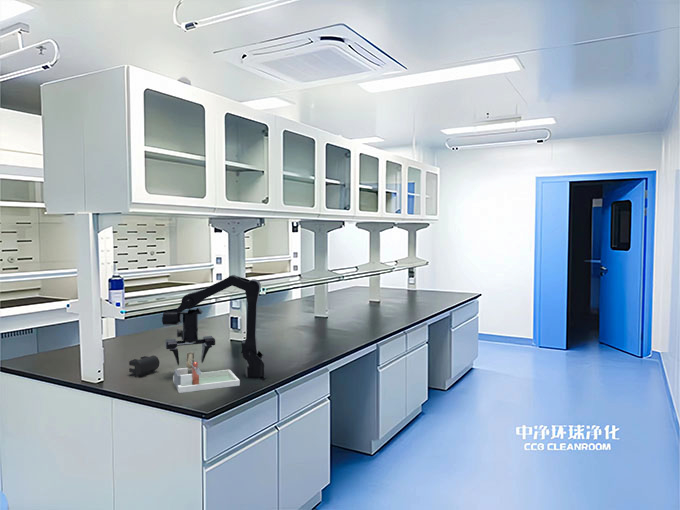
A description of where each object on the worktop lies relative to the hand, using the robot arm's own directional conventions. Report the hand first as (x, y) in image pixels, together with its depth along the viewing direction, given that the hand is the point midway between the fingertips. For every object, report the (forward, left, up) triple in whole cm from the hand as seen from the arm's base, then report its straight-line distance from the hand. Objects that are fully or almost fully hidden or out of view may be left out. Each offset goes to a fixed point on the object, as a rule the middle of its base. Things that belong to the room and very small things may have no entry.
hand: (190, 363), depth 194 cm
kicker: (0, +9, -5) cm, 10 cm away
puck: (+3, +11, -5) cm, 13 cm away
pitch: (-4, +11, -6) cm, 14 cm away
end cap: (+16, -15, -6) cm, 22 cm away
